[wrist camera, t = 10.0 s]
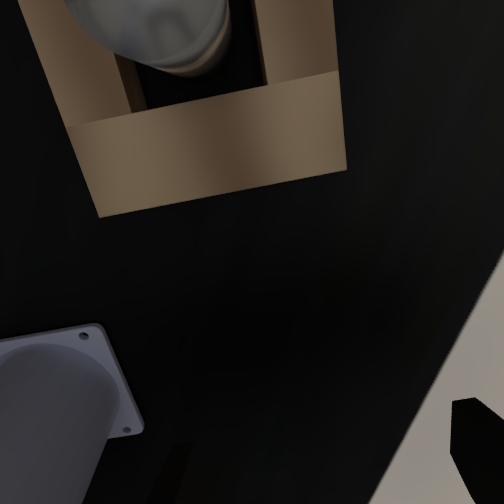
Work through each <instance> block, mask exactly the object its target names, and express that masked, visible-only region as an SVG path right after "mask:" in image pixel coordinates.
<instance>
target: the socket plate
mask: <svg viewBox="0 0 504 504" xmlns="http://www.w3.org/2000/svg"><path fill="white" fill-rule="evenodd" d="M18 2H19V5H20V7H21V10H22V13H23V15H24V18H25V21H26V23H27V26H28V29H29V31H30V34H31V37H32V39H33V42H34V45H35V47H36V50H37V53H38V55H39V58H40V61H41V63H42V66H43V69H44V71H45V74H46V76H47V79H48V82H49V84H50V87H51V90H52V92H53V95H54V98H55V100H56V103H57V106H58V108H59V111H60V114H61V116H62V119H63V122H64V124H65V127H66V130H67V132H68V135H69V138H70V140H71V143H72V146H73V148H74V151H75V154H76V156H77V159H78V162H79V164H80V167H81V169H82V172H83V175H84V177H85V180H86V183H87V185H88V188H89V191H90V193H91V196H92V199H93V201H94V204H95V207H96V209H97V212H98V215H99V217H105V216H110V215H116V214H121V213H126V212H131V211H136V210H141V209H146V208H152V207H157V206H162V205H167V204H172V203H177V202H182V201H188V200H193V199H198V198H203V197H208V196H213V195H218V194H224V193H229V192H234V191H239V190H244V189H249V188H254V187H260V186H265V185H270V184H275V183H280V182H285V181H290V180H296V179H301V178H306V177H311V176H316V175H321V174H326V173H332V172H337V171H342V170H347V167H346V155H345V143H344V132H343V120H342V108H341V96H340V84H339V73H338V61H337V49H336V37H335V25H334V13H333V2H332V0H250V3H251V9H252V15H253V21H254V28H255V34H256V40H257V46H258V52H259V59H260V65H261V71H262V77H263V83H264V86H261V87H257V88H252V89H247V90H242V91H237V92H233V93H228V94H223V95H218V96H214V97H209V98H204V99H199V100H194V101H190V102H185V103H180V104H175V105H170V106H166V107H161V108H156V109H151V110H148V108H147V104H146V101H145V97H144V94H143V90H142V87H141V83H140V80H139V76H138V73H137V69H136V65H135V62H134V60H132V59H129V58H126V57H123V56H121V55H118V54H116V53H114V52H112V51H110V50H108V49H106V48H105V47H103V46H102V45H100V44H99V43H97V42H96V41H95V40H94V39H93V38H92V37H91V36H89V35H88V34H87V33H86V32H85V30H84V29H83V28H82V27H81V26H80V25H79V24H78V22H77V21H76V20H75V18H74V17H73V15H72V14H71V12H70V11H69V9H68V7H67V5H66V4H65V2H64V0H18Z"/></svg>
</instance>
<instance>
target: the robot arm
mask: <svg viewBox="0 0 504 504" xmlns="http://www.w3.org/2000/svg"><path fill="white" fill-rule="evenodd" d="M82 332H85V333H87V334H88V335H89V336H86V335H84V334H83V333H82ZM451 418H452V419H451V441H450V454H451V456H452V458H453V460H454V462H455V465H456V467H457V469H458V471H459V473H460V475H461V477H462V479H463V481H464V483H465V485H466V487H467V489H468V491H469V493H470V495H471V497H472V499H473V500H474V502H475V503H476V504H504V420H503V419H502V418H501V417H500V416H498V415H497V414H496V413H495V412H493V411H492V410H491V409H490V408H488V407H487V406H486V405H484V404H483V403H482V402H481V401H479V400H478V399H476V398H475V397H474V398H468V399H462V400H455V401H452V416H451ZM128 427H129V428H128ZM143 428H144V421H143V419H142V416H141V414H140V412H139V409H138V407H137V405H136V402H135V400H134V398H133V395H132V393H131V391H130V388H129V386H128V384H127V381H126V379H125V377H124V374H123V372H122V370H121V367H120V365H119V362H118V360H117V358H116V355H115V353H114V351H113V348H112V346H111V344H110V341H109V339H108V337H107V334H106V332H105V330H104V328H103V327H102V326H101V325H100V324H97V323H90V324H84V325H79V326H73V327H67V328H62V329H56V330H51V331H45V332H39V333H34V334H28V335H23V336H17V337H11V338H6V339H0V504H82V502H83V499H84V497H85V494H86V492H87V489H88V487H89V484H90V482H91V479H92V477H93V474H94V472H95V469H96V467H97V464H98V462H99V459H100V457H101V454H102V452H103V449H104V447H105V444H106V442H107V439H109V438H115V437H121V436H127V435H134V434H138V433H141V432H142V431H143ZM143 504H210V486H209V484H208V481H207V478H206V475H205V472H204V470H203V467H202V464H201V461H200V459H199V456H198V453H197V450H196V448H195V445H194V442H190V443H183V444H177V445H172V447H171V448H170V449H169V451H168V454H167V456H166V458H165V460H164V462H163V464H162V466H161V469H160V471H159V473H158V475H157V477H156V479H155V481H154V483H153V485H152V487H151V489H150V491H149V493H148V495H147V497H146V499H145V501H144V503H143Z"/></svg>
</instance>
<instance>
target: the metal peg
mask: <svg viewBox="0 0 504 504" xmlns="http://www.w3.org/2000/svg"><path fill="white" fill-rule="evenodd" d="M64 2H65V4H66V5H67V7H68V9H69V11H70V12H71V14H72V15H73V17H74V18H75V20H76V21H77V22H78V24H79V25H80V26H81V27H82V28H83V29H84V30H85V32H86V33H87V34H88V35H89V36H91V37H92V38H93V39H94V40H95V41H96V42H97V43H99V44H100V45H102V46H103V47H105V48H106V49H108V50H110V51H112V52H114V53H116V54H118V55H121V56H123V57H126V58H129V59H132V60H134V61H137V62H140V63H143V64H145V65H148V66H151V67H154V68H157V69H159V70H162V71H165V72H168V73H170V74H173V75H176V76H179V77H182V78H184V79H188V80H202V79H206V78H209V77H211V76H213V75H214V74H216V73H217V72H218V71H219V70H220V69H221V68H222V67H223V66H224V65H225V63H226V62H227V60H228V58H229V55H230V53H231V49H232V44H233V29H232V22H231V16H230V9H229V3H228V0H64Z"/></svg>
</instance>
